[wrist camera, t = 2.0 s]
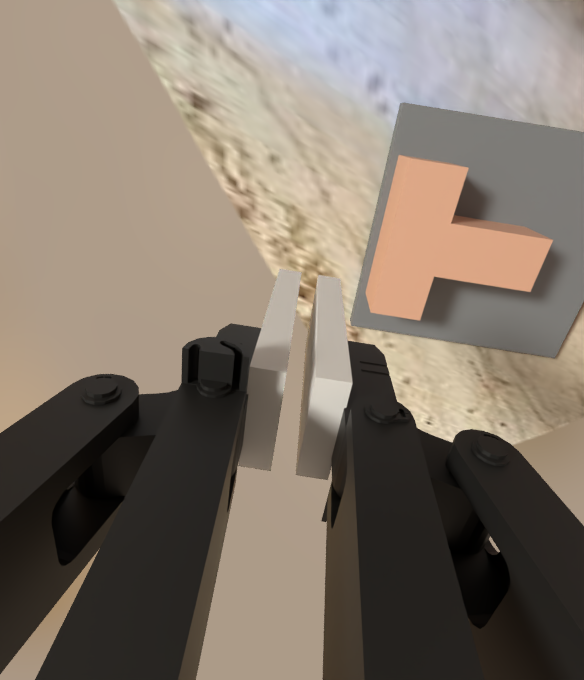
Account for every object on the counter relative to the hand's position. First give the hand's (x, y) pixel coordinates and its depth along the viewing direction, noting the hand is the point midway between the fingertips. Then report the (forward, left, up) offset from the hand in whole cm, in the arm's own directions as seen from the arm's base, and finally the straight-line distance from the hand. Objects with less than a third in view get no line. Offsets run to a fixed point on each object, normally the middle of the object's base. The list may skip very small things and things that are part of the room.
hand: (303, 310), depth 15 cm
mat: (0, +13, -18) cm, 23 cm away
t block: (0, +10, -17) cm, 20 cm away
